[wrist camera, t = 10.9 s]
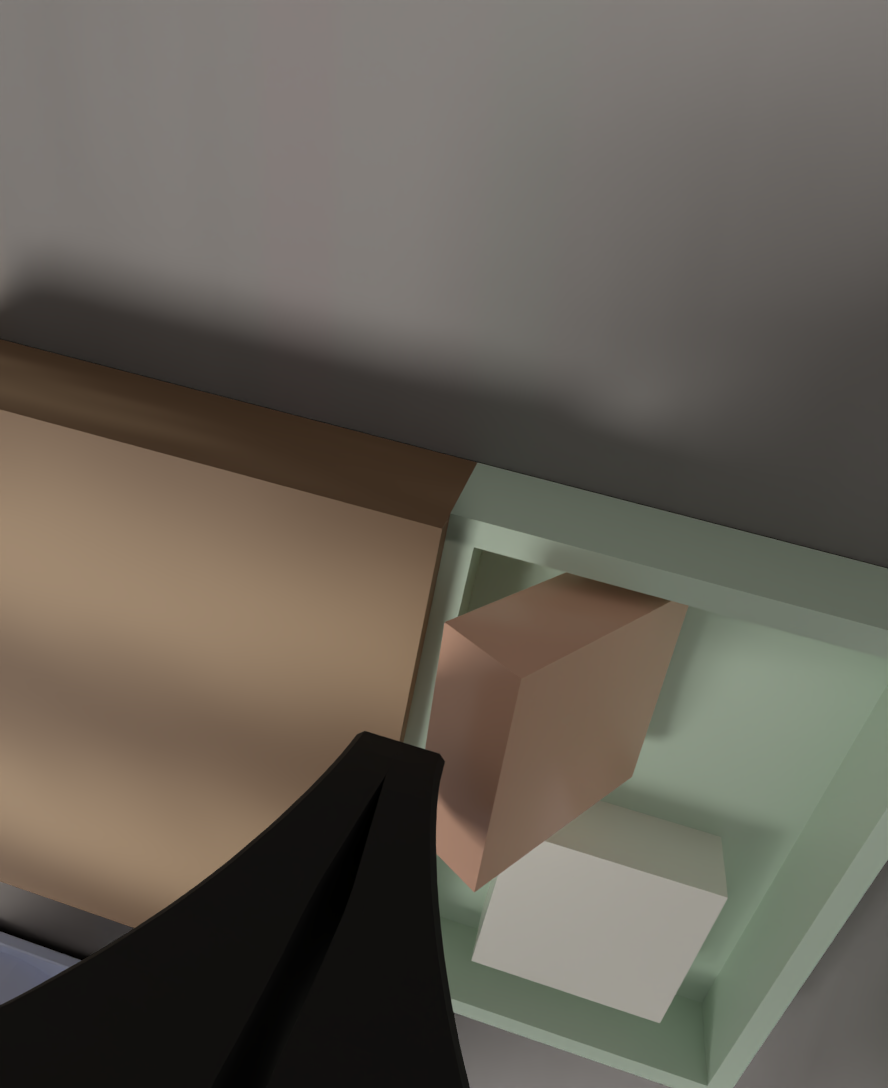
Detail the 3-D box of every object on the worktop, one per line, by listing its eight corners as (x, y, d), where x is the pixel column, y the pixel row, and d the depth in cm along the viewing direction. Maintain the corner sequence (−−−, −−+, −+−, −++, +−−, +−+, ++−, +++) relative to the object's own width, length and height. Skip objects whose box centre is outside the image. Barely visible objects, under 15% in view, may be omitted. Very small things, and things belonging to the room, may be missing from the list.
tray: (713, 1005, 20) (721, 1104, 18) (383, 896, 21) (355, 978, 19) (963, 588, 14) (1019, 665, 12) (477, 462, 15) (450, 513, 13)
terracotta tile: (571, 731, 17) (632, 777, 16) (412, 829, 14) (474, 893, 13) (620, 549, 15) (694, 589, 14) (444, 621, 12) (521, 678, 11)
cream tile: (471, 960, 18) (483, 903, 20) (659, 1023, 18) (658, 960, 19) (511, 830, 16) (522, 776, 18) (727, 897, 16) (720, 837, 17)
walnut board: (383, 896, 21) (346, 1002, 19) (21, 777, 22) (-61, 860, 20) (477, 462, 15) (442, 528, 12) (-32, 331, 16) (-163, 365, 14)
